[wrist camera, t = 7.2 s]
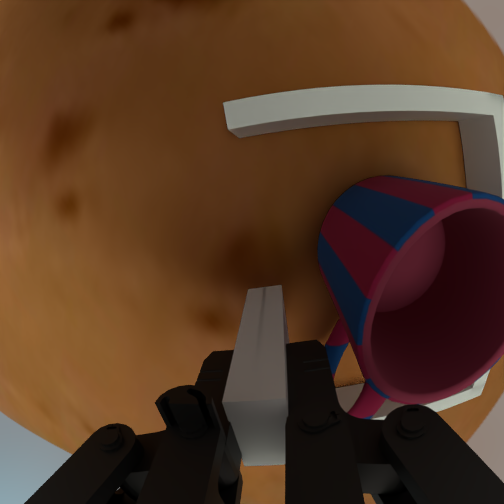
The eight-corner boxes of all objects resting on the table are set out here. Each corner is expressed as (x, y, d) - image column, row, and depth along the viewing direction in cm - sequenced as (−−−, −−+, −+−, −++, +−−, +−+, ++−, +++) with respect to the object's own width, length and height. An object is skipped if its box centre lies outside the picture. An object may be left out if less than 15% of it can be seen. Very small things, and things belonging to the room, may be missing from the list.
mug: (462, 234, 12) (553, 282, 6) (343, 373, 15) (370, 471, 9) (376, 144, 12) (469, 135, 5) (245, 313, 14) (227, 420, 8)
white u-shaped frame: (235, 116, 12) (222, 102, 9) (468, 103, 10) (502, 95, 7) (285, 405, 16) (285, 442, 13) (461, 367, 15) (480, 394, 12)
